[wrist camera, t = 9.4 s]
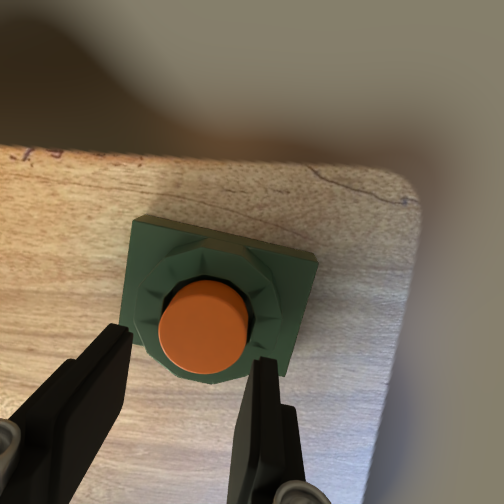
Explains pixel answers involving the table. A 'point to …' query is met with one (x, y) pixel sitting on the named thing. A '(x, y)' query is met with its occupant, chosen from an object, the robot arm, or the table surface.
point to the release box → (221, 270)
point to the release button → (204, 327)
